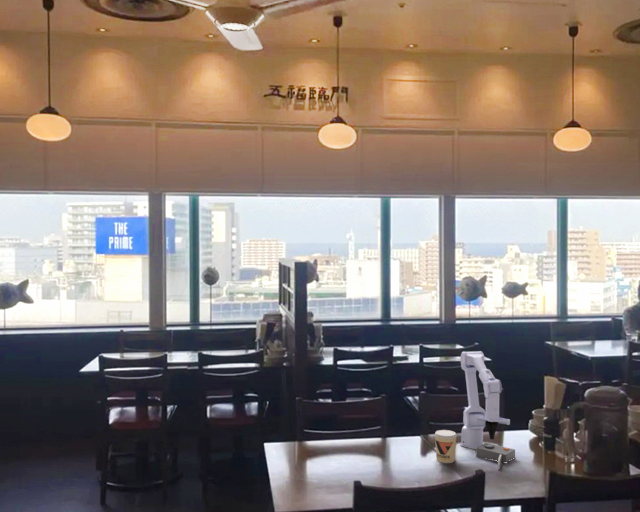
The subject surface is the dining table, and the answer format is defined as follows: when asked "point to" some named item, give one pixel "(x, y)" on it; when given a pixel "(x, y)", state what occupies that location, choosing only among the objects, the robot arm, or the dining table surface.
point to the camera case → (495, 452)
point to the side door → (499, 461)
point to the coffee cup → (445, 445)
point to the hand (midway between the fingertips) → (492, 438)
